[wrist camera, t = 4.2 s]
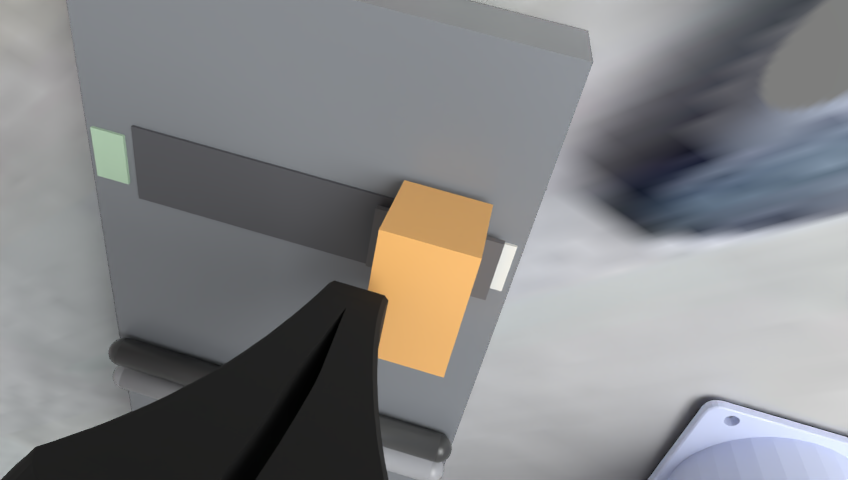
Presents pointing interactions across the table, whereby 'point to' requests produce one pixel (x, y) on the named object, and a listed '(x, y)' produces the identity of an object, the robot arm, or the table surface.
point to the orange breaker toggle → (429, 271)
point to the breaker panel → (308, 170)
